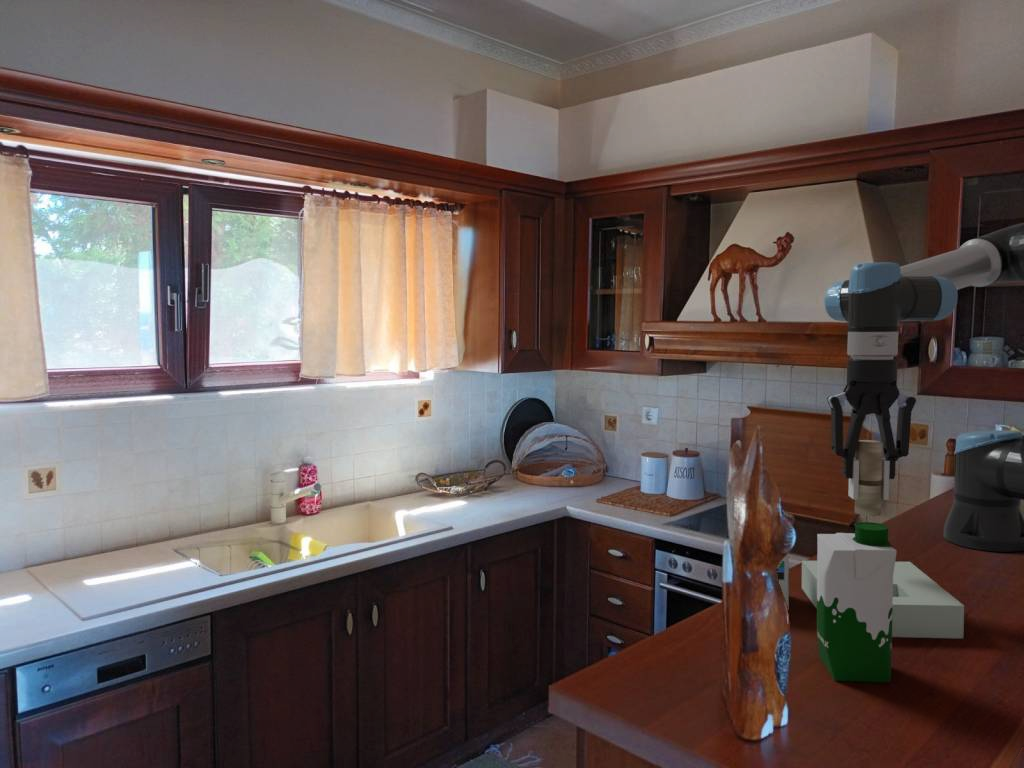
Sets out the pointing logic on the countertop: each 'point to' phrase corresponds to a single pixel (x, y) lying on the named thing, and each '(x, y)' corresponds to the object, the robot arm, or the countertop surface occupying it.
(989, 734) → the countertop surface
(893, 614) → the board
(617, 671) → the countertop surface
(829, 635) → the milk carton
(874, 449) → the peg
